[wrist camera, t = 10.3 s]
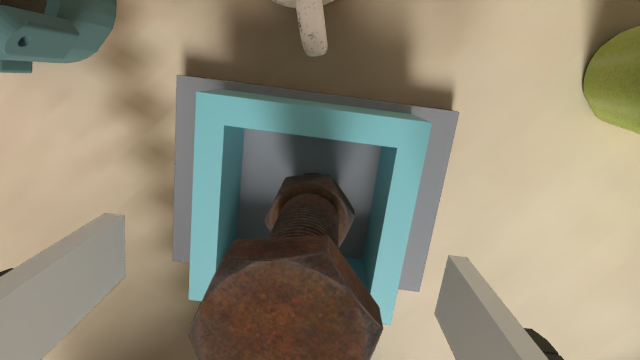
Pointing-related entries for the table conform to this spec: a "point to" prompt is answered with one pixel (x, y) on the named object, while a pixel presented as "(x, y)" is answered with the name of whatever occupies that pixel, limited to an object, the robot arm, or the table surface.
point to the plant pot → (616, 81)
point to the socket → (307, 157)
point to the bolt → (290, 286)
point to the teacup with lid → (310, 24)
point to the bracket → (53, 33)
